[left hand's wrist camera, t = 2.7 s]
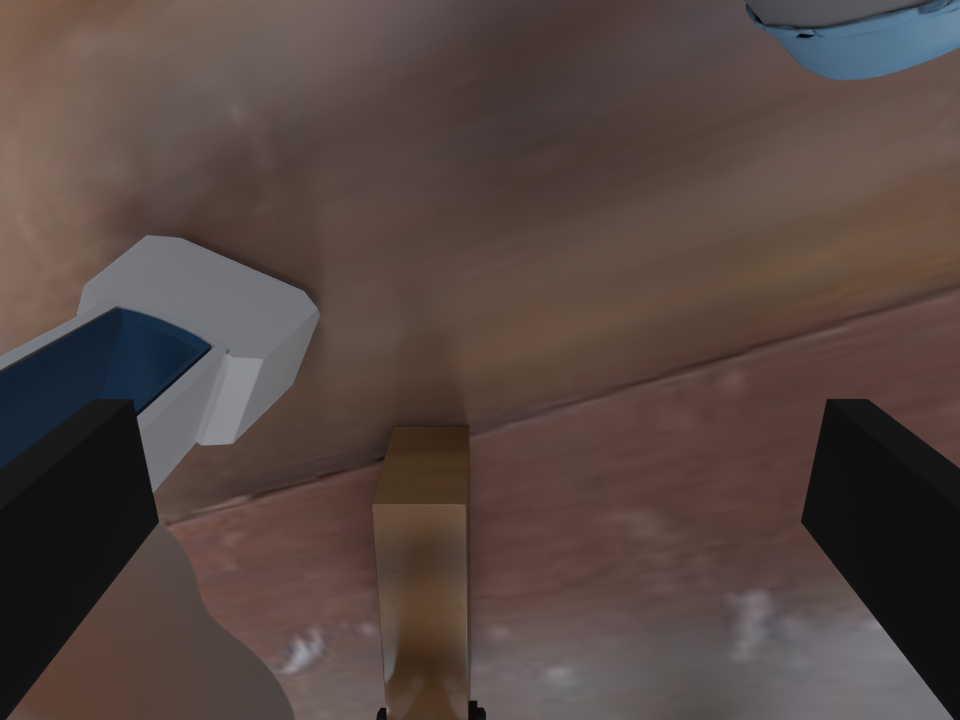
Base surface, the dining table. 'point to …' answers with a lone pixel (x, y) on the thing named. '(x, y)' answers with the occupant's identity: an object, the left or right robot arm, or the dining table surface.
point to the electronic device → (162, 352)
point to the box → (424, 572)
